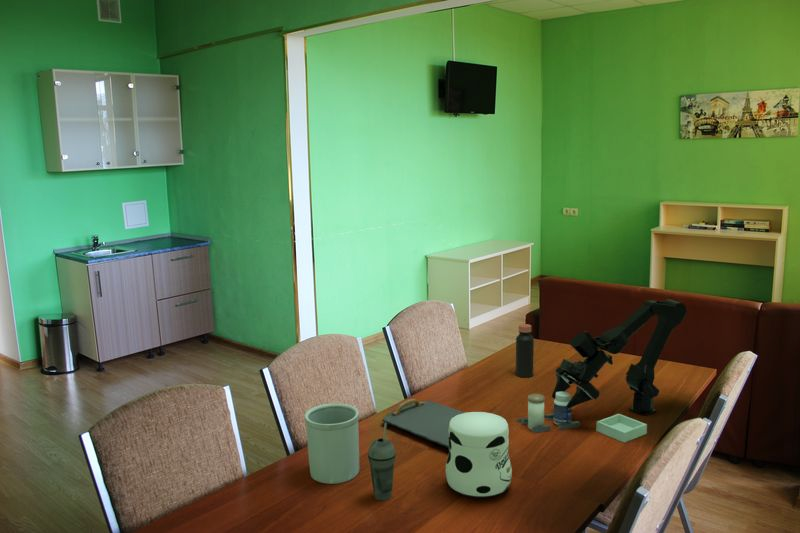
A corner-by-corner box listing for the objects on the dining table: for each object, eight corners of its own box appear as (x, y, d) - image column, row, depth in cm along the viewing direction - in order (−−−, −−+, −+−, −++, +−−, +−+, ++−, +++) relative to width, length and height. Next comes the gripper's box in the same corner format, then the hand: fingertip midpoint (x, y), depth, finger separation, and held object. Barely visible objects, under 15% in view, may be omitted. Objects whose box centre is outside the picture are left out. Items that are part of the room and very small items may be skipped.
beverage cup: (368, 489, 179) (366, 418, 176) (395, 488, 180) (394, 416, 176) (369, 504, 172) (367, 429, 168) (398, 502, 173) (396, 428, 169)
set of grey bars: (561, 413, 227) (562, 409, 226) (580, 426, 216) (580, 422, 216) (515, 420, 222) (515, 416, 222) (532, 434, 211) (532, 429, 211)
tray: (618, 422, 218) (618, 413, 218) (646, 433, 210) (647, 424, 209) (596, 430, 212) (596, 421, 212) (624, 442, 204) (624, 432, 203)
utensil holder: (339, 490, 179) (337, 428, 176) (296, 477, 187) (293, 417, 184) (371, 467, 191) (369, 409, 188) (329, 456, 199) (327, 399, 196)
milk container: (523, 497, 174) (523, 431, 170) (460, 508, 169) (459, 441, 166) (495, 467, 190) (495, 406, 187) (436, 477, 185) (435, 415, 182)
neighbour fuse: (535, 422, 220) (536, 392, 218) (547, 427, 216) (548, 397, 214) (524, 426, 217) (524, 396, 215) (535, 431, 213) (536, 400, 211)
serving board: (512, 437, 210) (513, 418, 209) (463, 462, 194) (463, 442, 193) (423, 405, 238) (423, 388, 237) (374, 425, 222) (373, 407, 221)
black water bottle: (534, 377, 262) (535, 327, 258) (517, 378, 262) (517, 328, 259) (531, 372, 269) (532, 323, 265) (514, 372, 269) (514, 323, 265)
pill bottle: (571, 427, 216) (572, 397, 214) (553, 425, 217) (554, 396, 215) (571, 419, 221) (571, 390, 220) (553, 418, 223) (553, 390, 221)
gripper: (560, 342, 225) (530, 378, 224) (592, 359, 208) (559, 397, 206) (581, 363, 229) (551, 398, 227) (613, 380, 211) (581, 418, 210)
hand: (559, 402), depth 218 cm, fingers open, 9 cm apart
